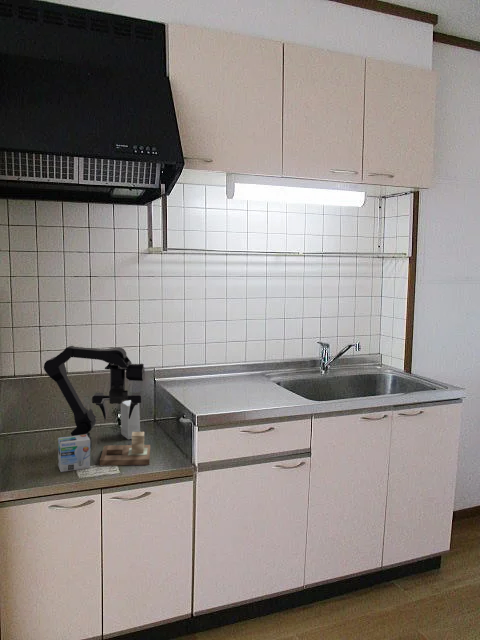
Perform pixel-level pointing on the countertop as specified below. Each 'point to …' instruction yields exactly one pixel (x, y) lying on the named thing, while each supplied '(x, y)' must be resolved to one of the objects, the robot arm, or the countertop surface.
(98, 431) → the countertop surface
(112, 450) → the pocket board
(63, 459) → the light bulb box
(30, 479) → the countertop surface
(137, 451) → the maple block
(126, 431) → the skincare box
